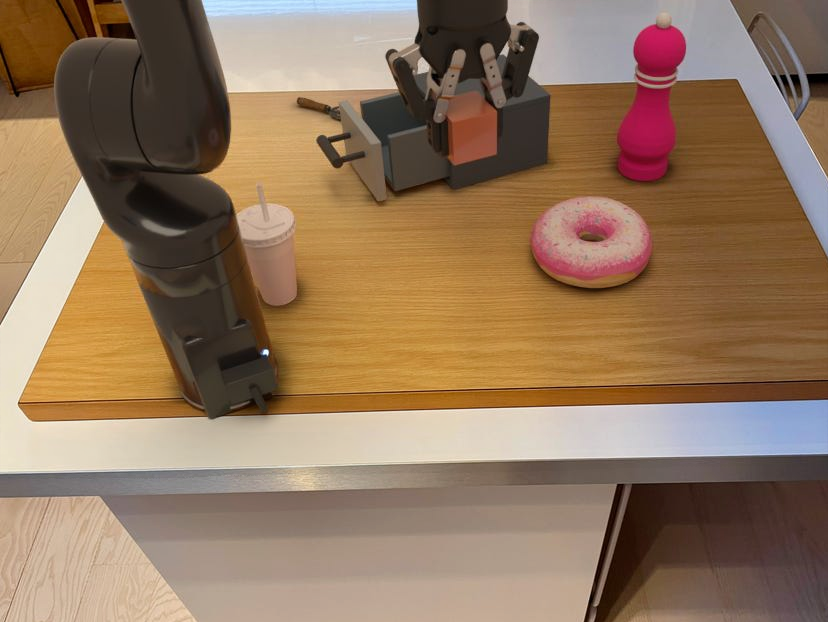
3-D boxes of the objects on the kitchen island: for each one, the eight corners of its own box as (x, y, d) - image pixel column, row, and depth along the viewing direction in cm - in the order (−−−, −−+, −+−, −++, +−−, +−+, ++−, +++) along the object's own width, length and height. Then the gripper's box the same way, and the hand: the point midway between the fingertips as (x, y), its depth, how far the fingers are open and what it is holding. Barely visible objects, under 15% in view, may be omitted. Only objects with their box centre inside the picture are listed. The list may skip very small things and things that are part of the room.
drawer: (345, 211, 98) (336, 153, 93) (315, 165, 106) (305, 109, 100) (470, 175, 103) (469, 119, 98) (433, 134, 111) (430, 79, 105)
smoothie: (297, 317, 86) (272, 206, 76) (240, 309, 87) (208, 198, 77) (317, 279, 91) (296, 169, 81) (263, 272, 92) (235, 162, 82)
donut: (551, 308, 87) (554, 271, 83) (514, 235, 96) (515, 199, 92) (668, 285, 89) (676, 248, 86) (621, 216, 98) (626, 180, 95)
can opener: (296, 105, 118) (295, 98, 117) (307, 99, 120) (306, 91, 119) (344, 123, 115) (343, 115, 114) (355, 116, 116) (354, 108, 115)
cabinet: (452, 190, 103) (449, 120, 96) (413, 143, 111) (408, 75, 104) (547, 163, 107) (550, 94, 100) (502, 120, 115) (503, 53, 108)
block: (497, 154, 77) (497, 111, 73) (454, 165, 75) (452, 122, 72) (477, 132, 79) (476, 90, 76) (435, 143, 78) (433, 100, 75)
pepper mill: (668, 155, 108) (695, 0, 94) (672, 185, 103) (700, 27, 89) (613, 152, 109) (631, -1, 94) (614, 182, 104) (633, 25, 89)
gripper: (393, -13, 61) (410, 185, 73) (563, -45, 65) (551, 147, 77) (360, -46, 65) (381, 145, 78) (519, -73, 70) (515, 112, 82)
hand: (466, 145), depth 77 cm, fingers closed on block, 4 cm apart
